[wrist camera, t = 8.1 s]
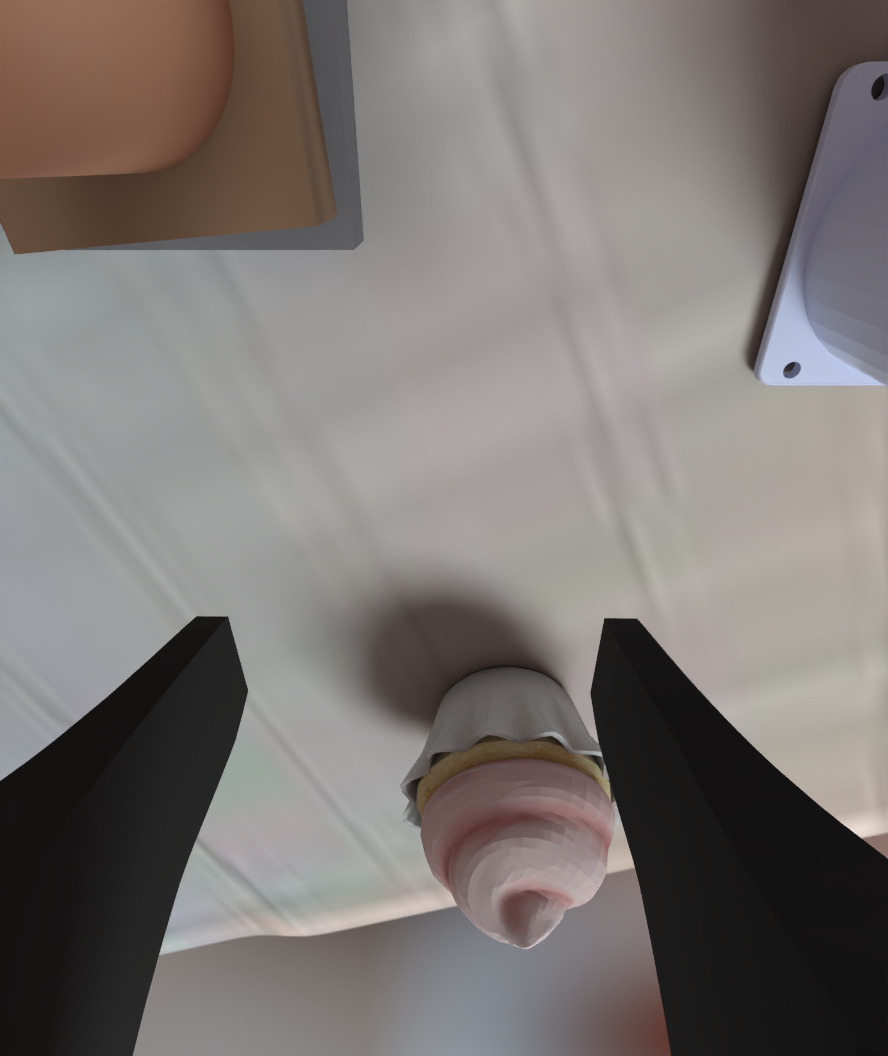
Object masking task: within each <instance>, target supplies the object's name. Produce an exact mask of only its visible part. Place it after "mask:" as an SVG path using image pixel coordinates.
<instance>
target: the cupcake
mask: <svg viewBox="0 0 888 1056" xmlns="http://www.w3.org/2000/svg"><path fill="white" fill-rule="evenodd" d="M400 786H401V789H402V792H403V793H404V795H405V796H406V797H407V798H408V799H409V800H410V801H409V803H408V806H407V808H406V810H405V812H404V815H403V821H405V822H406V823H408V824H409V825H411V826H413V827H416V828H419V829H421V839H422V844H423V848H424V852H425V856H426V859H427V861H428V864H429V866H430V869H431V871H432V874H433V876H434V877H435V878H436V879H437V880H438V881H439V882H440V883H441V884H442V885H443V886H444V887H445V888H446V889H447V890H448V891H450V892H451V893H452V895H453V897H454V900H455V902H456V903H457V905H458V906H459V908H460V910H461V911H462V912H463V913H464V914H465V915H466V917H467V918H468V919H469V920H470V921H471V922H472V923H473V924H474V925H475V926H476V927H477V928H478V929H480V930H481V931H482V932H484V933H485V934H487V935H488V936H490V937H493V938H494V939H496V940H497V941H500V942H503V943H508V944H511V945H513V946H517V947H519V948H521V949H529V948H531V947H532V946H534V945H536V944H537V943H539V942H540V941H542V940H543V939H545V938H546V937H547V936H548V935H549V933H550V932H551V931H552V930H553V929H554V928H555V927H556V926H557V925H558V924H559V922H560V921H561V919H562V918H563V915H564V911H565V909H569V908H573V907H577V906H580V905H582V904H584V903H586V902H588V900H590V899H591V898H592V897H593V896H594V894H595V893H596V891H597V890H598V888H599V886H600V885H601V883H602V881H603V879H604V876H605V874H606V870H607V855H608V848H609V846H610V843H611V841H612V838H613V835H614V829H615V825H616V824H617V823H618V822H619V820H620V815H619V814H618V812H617V810H616V809H615V807H614V806H616V805H617V804H616V801H615V797H614V794H613V790H612V787H611V784H610V780H609V777H608V773H607V770H606V766H605V763H604V760H603V756H602V752H601V749H600V745H599V744H598V743H597V742H596V741H595V740H594V739H593V738H592V737H591V736H590V735H589V733H588V731H587V729H586V727H585V725H584V723H583V721H582V719H581V717H580V715H579V713H578V711H577V709H576V707H575V705H574V703H573V702H572V700H571V698H570V696H569V695H568V694H567V693H566V691H565V690H564V689H563V688H561V687H560V686H559V685H558V684H557V683H556V682H555V681H553V680H552V679H551V678H549V677H547V676H546V675H544V674H542V673H539V672H536V671H532V670H528V669H523V668H516V667H499V668H491V669H487V670H482V671H479V672H475V673H473V674H471V675H469V676H467V677H465V678H464V679H462V680H460V681H459V682H458V683H456V684H455V685H454V686H453V687H452V688H451V689H449V691H448V692H447V693H446V695H445V696H444V698H443V699H442V701H441V703H440V705H439V708H438V711H437V714H436V718H435V721H434V724H433V727H432V729H431V732H430V734H429V737H428V739H427V742H426V745H425V747H424V750H423V752H422V754H421V755H420V757H419V758H418V760H417V761H416V763H415V764H414V766H413V767H412V769H411V770H410V772H409V773H408V775H407V776H406V777H405V779H404V780H403V782H402V783H401V785H400Z"/></svg>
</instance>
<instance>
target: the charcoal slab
mask: <svg viewBox="0 0 888 1056" xmlns="http://www.w3.org/2000/svg"><path fill="white" fill-rule="evenodd" d="M302 2H303V8H304V14H305V20H306V26H307V33H308V39H309V45H310V51H311V57H312V63H313V70H314V76H315V82H316V88H317V94H318V101H319V107H320V113H321V119H322V125H323V131H324V138H325V144H326V150H327V156H328V162H329V169H330V175H331V181H332V187H333V193H334V199H335V206H336V212H337V216H336V217H334V218H332V219H330V220H328V221H326V222H324V223H322V224H321V225H319V226H313V227H302V228H291V229H281V230H270V231H259V232H248V233H238V234H227V235H216V236H205V237H195V238H184V239H173V240H163V241H152V242H141V243H130V244H120V245H109V246H98V247H87V248H77V249H66V250H354V249H355V248H356V247H357V246H358V245H359V244H361V243H362V242H363V241H364V239H363V225H362V211H361V197H360V183H359V168H358V154H357V140H356V126H355V112H354V97H353V83H352V69H351V55H350V41H349V26H348V12H347V0H302Z"/></svg>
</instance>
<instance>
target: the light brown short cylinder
mask: <svg viewBox="0 0 888 1056" xmlns="http://www.w3.org/2000/svg"><path fill="white" fill-rule="evenodd" d="M233 64H234V36H233V25H232V18H231V12H230V5H229V1H228V0H0V179H10V178H35V177H61V176H87V175H113V174H139V173H149V172H155V171H160V170H163V169H166V168H169V167H172V166H174V165H176V164H178V163H180V162H182V161H183V160H185V159H187V158H188V157H189V156H191V155H192V154H193V153H194V152H196V151H197V150H198V149H199V148H200V147H201V146H202V145H203V143H204V142H205V141H206V140H207V139H208V138H209V136H210V135H211V133H212V132H213V130H214V128H215V127H216V125H217V124H218V122H219V119H220V117H221V115H222V113H223V110H224V108H225V105H226V102H227V98H228V95H229V92H230V87H231V81H232V75H233Z"/></svg>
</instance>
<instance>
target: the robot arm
mask: <svg viewBox="0 0 888 1056" xmlns="http://www.w3.org/2000/svg"><path fill="white" fill-rule="evenodd" d="M880 76H881V77H882V78H883V80H884V82H885V83H884V89H883V91H882V93H881V95H880V96H879V97H878V98H877V99H876V100H874V99H873V97H872V95H871V88H872V86H873V84H874V82H875V80H876V79H877V78H878V77H880ZM791 362H795V366H794V368H793V370H792V371H791V372H789V373H788V374H784V375H783V370H784V368H785V366H786V365H787V364H789V363H791ZM754 374H755V377H756V378H757V379H758V380H759V381H761V382H762V383H763V384H766V385H886V386H888V61H882V62H865V63H861V64H856V65H853V66H851V67H850V68H848V69H847V70H845V71H844V72H843V74H842V75H841V76H840V77H839V79H838V80H837V82H836V85H835V87H834V89H833V93H832V96H831V100H830V103H829V107H828V110H827V114H826V117H825V121H824V124H823V128H822V131H821V135H820V138H819V142H818V145H817V149H816V152H815V156H814V159H813V163H812V166H811V170H810V173H809V177H808V180H807V184H806V187H805V191H804V194H803V198H802V201H801V205H800V209H799V212H798V216H797V219H796V223H795V226H794V230H793V233H792V237H791V240H790V244H789V247H788V251H787V254H786V258H785V261H784V265H783V268H782V272H781V275H780V279H779V282H778V286H777V289H776V293H775V296H774V300H773V303H772V307H771V310H770V314H769V317H768V321H767V324H766V328H765V331H764V335H763V338H762V342H761V345H760V349H759V353H758V356H757V360H756V363H755V367H754ZM247 693H248V688H247V685H246V681H245V677H244V674H243V670H242V666H241V663H240V659H239V655H238V652H237V648H236V644H235V641H234V637H233V633H232V630H231V626H230V622H229V619H228V617H203V616H197V617H195V618H194V619H193V620H192V621H191V622H190V623H189V624H187V625H186V626H185V627H184V628H183V629H182V630H181V631H180V632H179V633H177V634H176V635H175V636H174V637H173V638H172V639H171V640H170V641H169V642H168V643H167V644H166V645H164V646H163V647H162V648H161V649H160V650H159V651H158V652H157V653H156V654H155V655H154V656H152V657H151V658H150V659H149V660H148V661H147V662H146V663H145V664H144V665H143V666H142V667H140V668H139V669H138V670H137V671H136V672H135V673H134V674H133V675H131V676H130V677H129V678H128V679H127V680H126V681H125V682H124V683H122V684H121V685H120V686H119V687H118V688H117V689H116V690H115V691H114V692H112V693H111V694H110V695H109V696H108V697H107V698H106V699H104V700H103V701H102V702H101V703H100V704H98V705H97V706H96V707H95V708H93V709H92V710H91V711H90V712H89V713H87V714H86V715H85V716H84V717H83V718H81V719H80V720H79V721H78V722H77V723H75V724H74V725H73V726H72V727H70V728H69V729H68V730H67V731H66V732H64V733H63V734H62V735H61V736H60V737H58V738H57V739H56V740H55V741H53V742H52V743H51V744H50V745H48V746H47V747H46V748H44V749H43V750H42V751H41V752H39V753H38V754H37V755H35V756H34V757H33V758H31V759H30V760H29V761H27V762H26V763H25V764H23V765H22V766H20V767H19V768H18V769H16V770H15V771H13V772H12V773H11V774H9V775H8V776H7V777H5V778H4V779H2V780H1V781H0V1056H133V1052H134V1048H135V1043H136V1040H137V1036H138V1031H139V1028H140V1023H141V1020H142V1016H143V1012H144V1008H145V1004H146V1000H147V996H148V993H149V989H150V985H151V982H152V978H153V974H154V971H155V967H156V963H157V960H158V956H159V953H160V949H161V945H162V942H163V938H164V935H165V931H166V928H167V925H168V921H169V918H170V915H171V911H172V908H173V904H174V901H175V898H176V894H177V891H178V888H179V884H180V881H181V878H182V876H183V873H184V870H185V867H186V864H187V862H188V859H189V856H190V853H191V851H192V848H193V846H194V843H195V841H196V838H197V836H198V833H199V831H200V829H201V826H202V824H203V821H204V819H205V816H206V814H207V811H208V809H209V806H210V804H211V801H212V799H213V796H214V794H215V791H216V789H217V786H218V784H219V781H220V779H221V776H222V774H223V771H224V768H225V766H226V763H227V761H228V758H229V756H230V753H231V750H232V748H233V745H234V743H235V740H236V736H237V732H238V729H239V725H240V721H241V718H242V714H243V710H244V705H245V701H246V697H247ZM591 699H592V706H593V712H594V718H595V724H596V730H597V735H598V741H599V745H600V749H601V752H602V756H603V760H604V763H605V766H606V770H607V773H608V777H609V780H610V784H611V787H612V790H613V794H614V797H615V801H616V804H617V807H618V811H619V814H620V817H621V821H622V824H623V828H624V831H625V834H626V838H627V841H628V845H629V848H630V851H631V855H632V858H633V861H634V865H635V869H636V873H637V877H638V881H639V885H640V889H641V894H642V899H643V904H644V909H645V914H646V919H647V924H648V929H649V934H650V939H651V944H652V949H653V955H654V960H655V966H656V971H657V977H658V982H659V988H660V993H661V998H662V1004H663V1009H664V1014H665V1021H666V1027H667V1033H668V1039H669V1044H670V1051H671V1056H888V859H887V858H886V857H885V856H884V855H882V854H881V853H880V852H878V851H877V850H875V849H874V848H873V847H872V846H870V845H869V844H868V843H867V842H865V841H864V840H863V839H861V838H860V837H859V836H857V835H856V834H855V833H854V832H852V831H851V830H850V829H848V828H847V827H846V826H844V825H843V824H842V823H840V822H839V821H838V820H837V819H836V818H834V817H833V816H832V815H831V814H829V813H828V812H827V811H826V810H824V809H823V808H822V807H821V806H820V805H818V804H817V803H816V802H815V801H814V800H812V799H811V798H810V797H809V796H808V795H807V794H805V793H804V792H803V791H802V790H801V789H800V788H799V787H797V786H796V785H795V784H794V783H793V782H792V781H790V780H789V779H788V778H787V777H786V776H785V775H784V774H782V773H781V772H780V771H779V770H778V769H777V768H776V767H775V766H773V765H772V764H771V763H770V762H769V761H768V760H767V759H766V758H765V757H764V756H763V755H762V754H761V753H760V752H759V751H757V750H756V749H755V748H754V747H753V746H752V745H751V744H750V743H749V742H748V741H747V740H746V739H745V738H744V737H743V736H742V735H741V734H740V733H739V732H738V731H737V730H736V729H735V728H734V727H733V726H732V725H731V724H730V723H729V722H728V721H727V720H726V719H725V718H724V716H723V715H722V714H721V713H720V712H719V711H718V710H717V709H716V708H715V707H714V706H713V705H712V704H711V703H710V702H709V700H708V699H707V698H706V697H705V696H704V695H703V694H702V693H701V692H700V691H699V690H698V689H697V687H696V686H695V685H694V684H693V683H692V682H691V681H690V680H689V679H688V677H687V676H686V675H685V674H684V673H683V672H682V671H681V669H680V668H679V667H678V666H677V665H676V664H675V662H674V661H673V660H672V659H671V658H670V657H669V656H668V654H667V653H666V652H665V651H664V650H663V648H662V647H661V646H660V645H659V644H658V642H657V641H656V640H655V639H654V638H653V637H652V635H651V634H650V633H649V632H648V631H647V629H646V628H645V627H644V626H643V625H642V624H641V623H640V621H639V620H638V619H617V618H604V624H603V629H602V634H601V640H600V645H599V650H598V656H597V661H596V666H595V672H594V677H593V682H592V688H591Z"/></svg>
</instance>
